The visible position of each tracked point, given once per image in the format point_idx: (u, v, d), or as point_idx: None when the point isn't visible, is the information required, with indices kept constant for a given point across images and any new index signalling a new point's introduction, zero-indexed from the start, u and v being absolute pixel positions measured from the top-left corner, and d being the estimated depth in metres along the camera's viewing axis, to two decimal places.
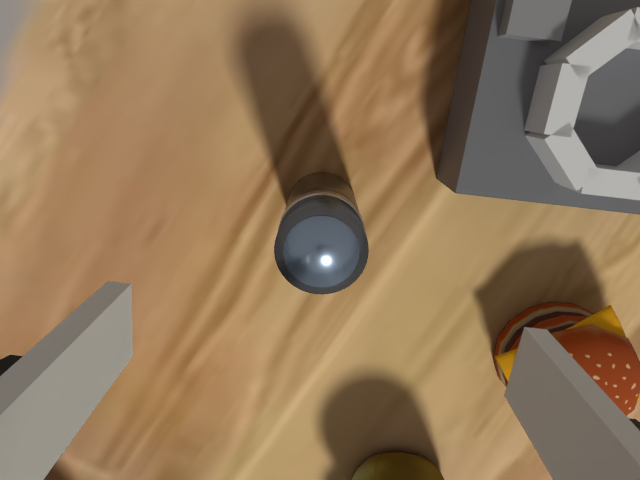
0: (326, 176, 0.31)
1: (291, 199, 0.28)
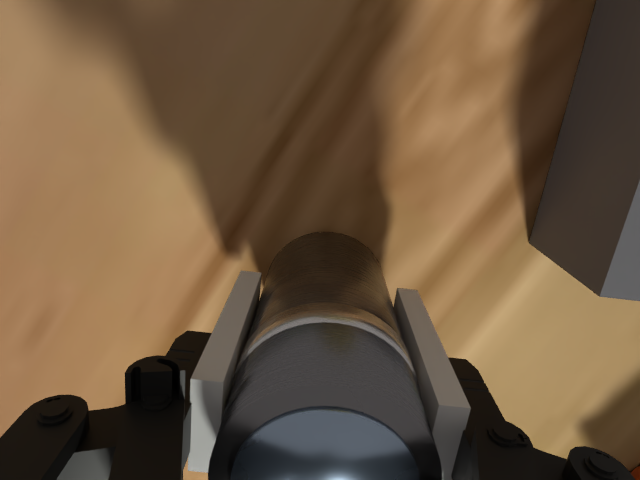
0: (334, 245, 0.17)
1: (264, 306, 0.14)
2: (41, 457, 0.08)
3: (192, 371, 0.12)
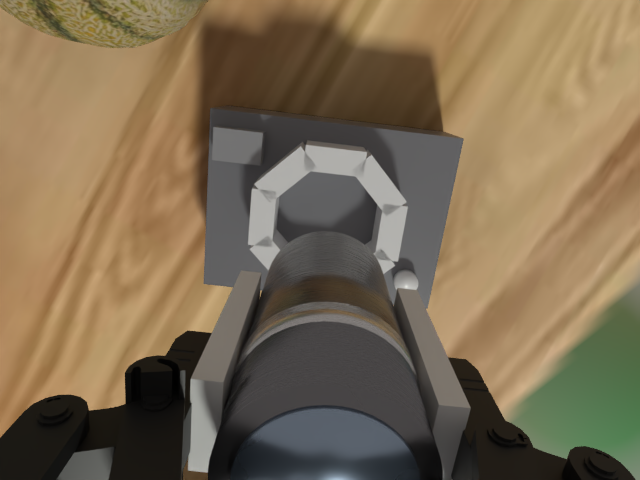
0: (334, 244, 0.17)
1: (264, 305, 0.14)
2: (41, 457, 0.08)
3: (192, 371, 0.12)
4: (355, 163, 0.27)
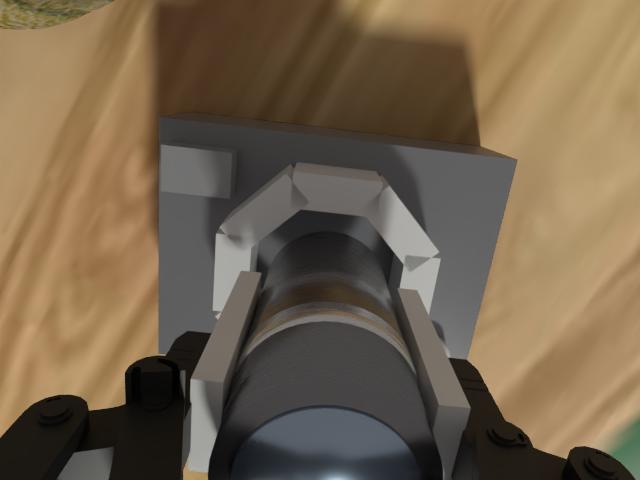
0: (334, 244, 0.17)
1: (264, 305, 0.14)
2: (41, 457, 0.08)
3: (192, 371, 0.12)
4: (365, 198, 0.18)
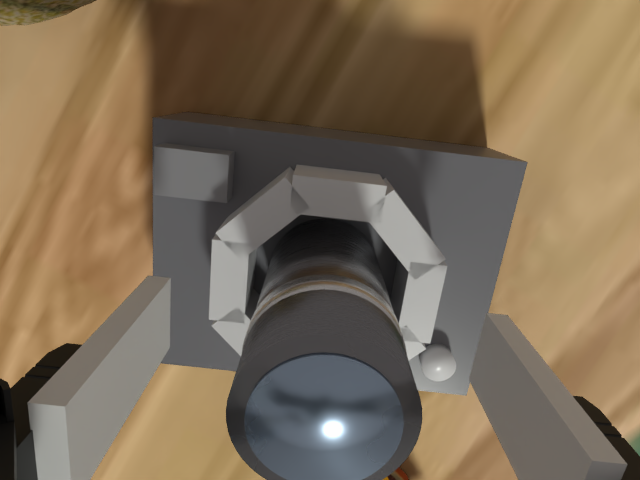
0: (332, 229, 0.19)
1: (270, 281, 0.16)
2: None
3: None
4: (369, 202, 0.17)
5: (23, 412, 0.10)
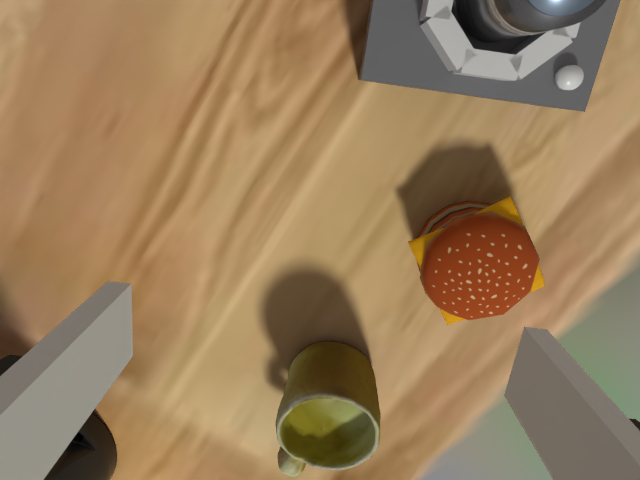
0: None
1: None
2: None
3: None
4: None
5: None
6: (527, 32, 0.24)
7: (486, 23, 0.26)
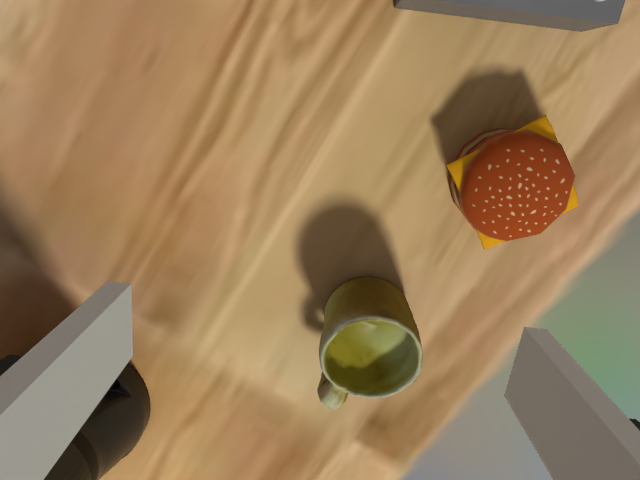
0: None
1: None
2: None
3: None
4: None
5: None
6: None
7: None
